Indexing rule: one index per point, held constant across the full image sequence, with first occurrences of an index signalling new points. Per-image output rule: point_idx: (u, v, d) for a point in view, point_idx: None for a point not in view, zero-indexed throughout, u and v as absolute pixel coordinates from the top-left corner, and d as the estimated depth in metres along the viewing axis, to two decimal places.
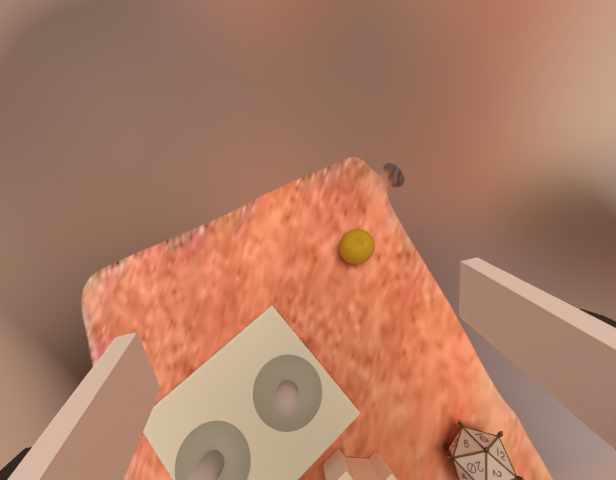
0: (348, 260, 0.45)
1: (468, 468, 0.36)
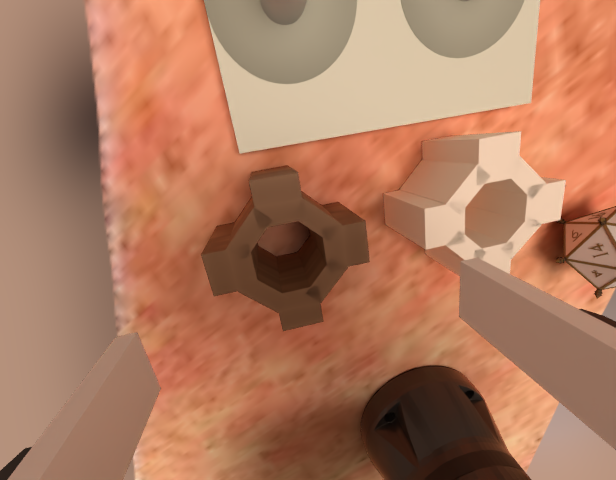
0: None
1: None
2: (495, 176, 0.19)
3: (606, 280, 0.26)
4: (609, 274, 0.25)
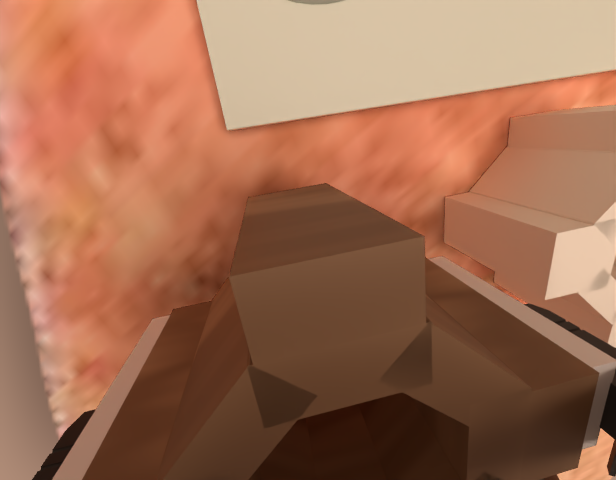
0: None
1: None
2: None
3: None
4: None
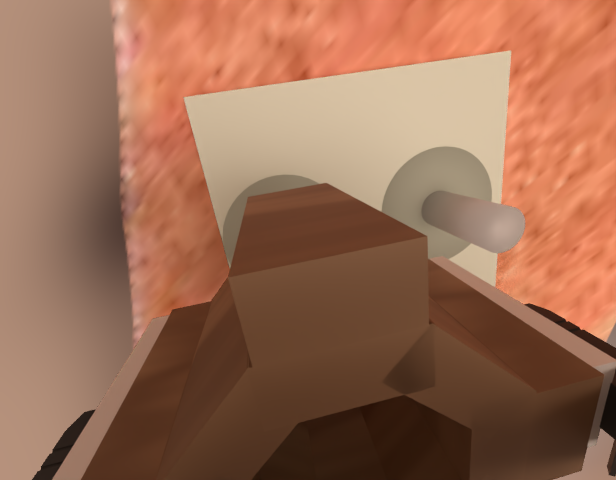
0: None
1: None
2: None
3: None
4: None
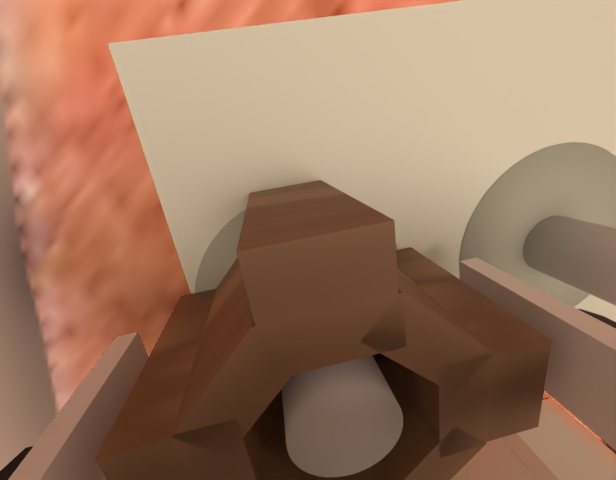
0: None
1: None
2: None
3: None
4: None
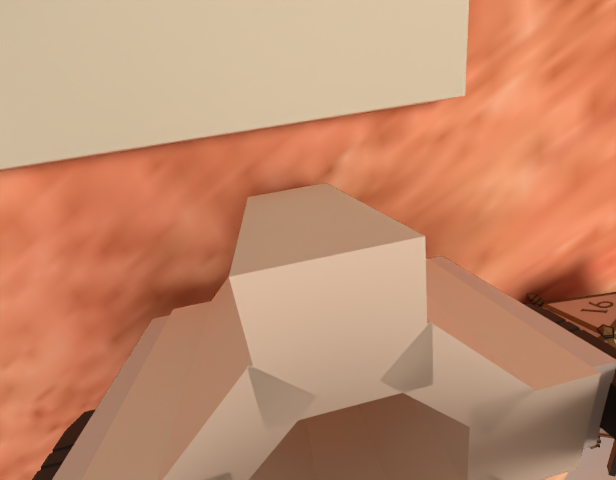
0: None
1: None
2: (339, 395, 0.05)
3: None
4: None
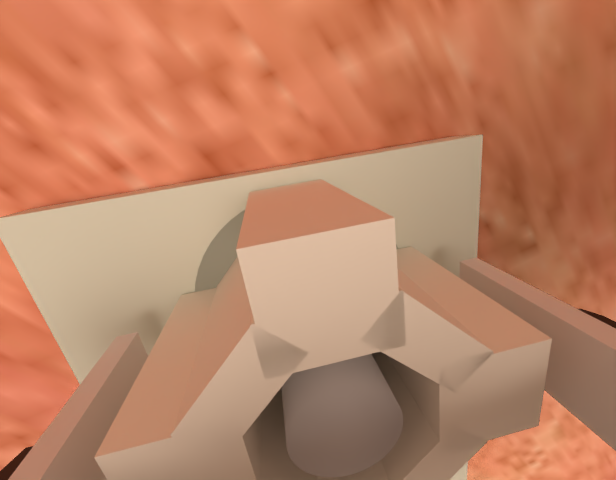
0: None
1: None
2: (327, 352, 0.06)
3: None
4: None
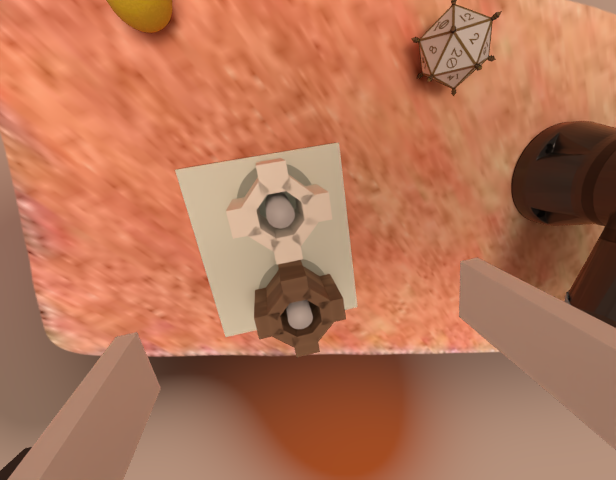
0: (155, 24, 0.27)
1: (449, 67, 0.31)
2: (274, 190, 0.29)
3: None
4: None
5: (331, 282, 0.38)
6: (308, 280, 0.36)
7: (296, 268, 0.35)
